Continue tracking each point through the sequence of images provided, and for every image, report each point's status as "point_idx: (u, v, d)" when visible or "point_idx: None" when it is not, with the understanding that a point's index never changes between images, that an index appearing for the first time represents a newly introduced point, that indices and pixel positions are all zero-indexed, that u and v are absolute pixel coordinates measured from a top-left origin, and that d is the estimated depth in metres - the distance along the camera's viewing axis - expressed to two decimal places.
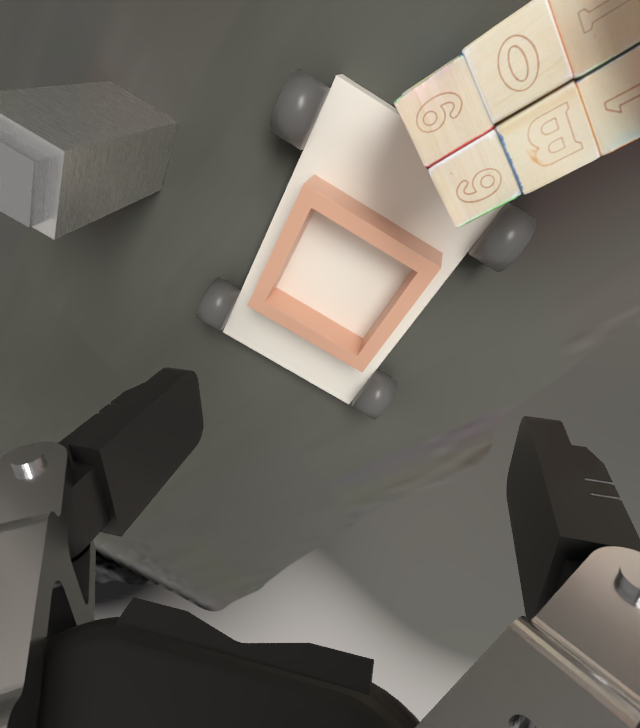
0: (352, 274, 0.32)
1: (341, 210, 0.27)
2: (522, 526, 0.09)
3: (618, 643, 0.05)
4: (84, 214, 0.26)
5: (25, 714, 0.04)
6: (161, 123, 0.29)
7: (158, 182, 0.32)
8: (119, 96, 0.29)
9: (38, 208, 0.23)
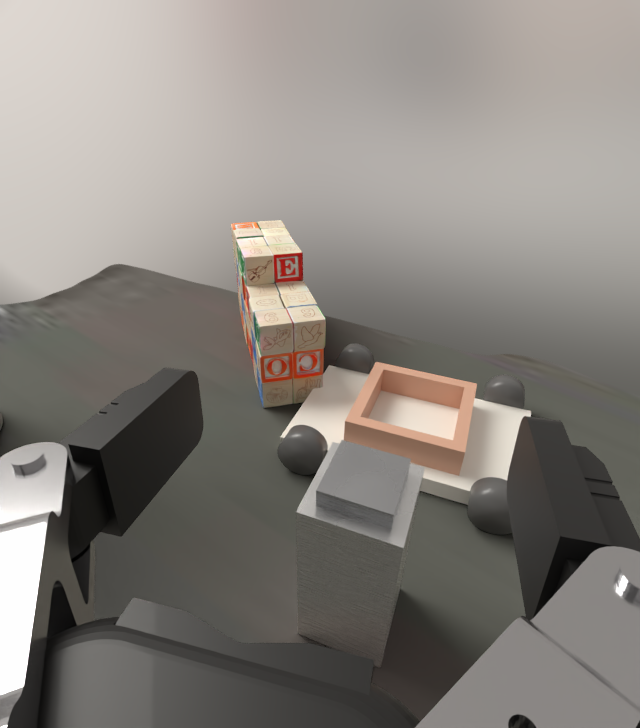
0: (409, 419, 0.41)
1: (356, 402, 0.39)
2: (522, 526, 0.09)
3: (619, 643, 0.05)
4: None
5: (25, 714, 0.04)
6: None
7: None
8: None
9: None
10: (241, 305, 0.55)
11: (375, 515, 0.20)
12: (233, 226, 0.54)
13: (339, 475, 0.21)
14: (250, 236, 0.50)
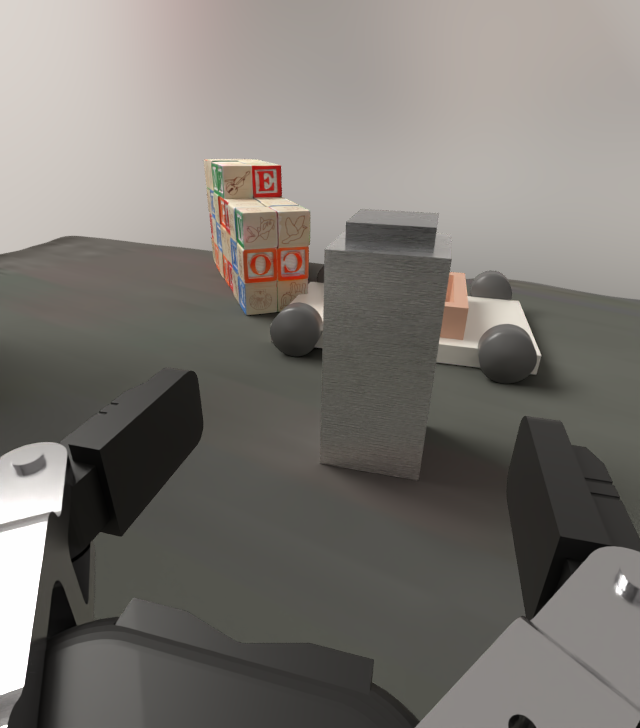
0: None
1: None
2: (522, 526, 0.09)
3: (618, 643, 0.05)
4: None
5: (25, 714, 0.04)
6: None
7: None
8: None
9: None
10: (216, 239, 0.53)
11: (415, 236, 0.18)
12: (206, 160, 0.53)
13: (368, 217, 0.19)
14: (225, 160, 0.49)
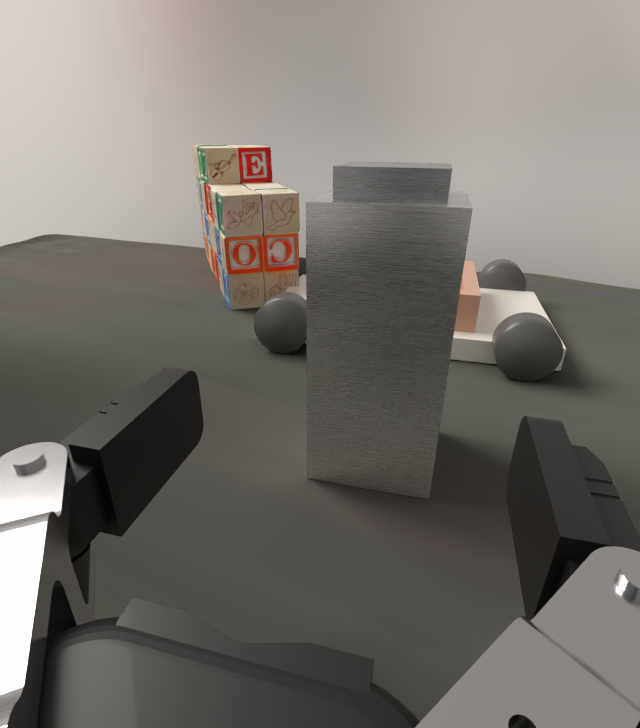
0: None
1: None
2: (522, 526, 0.09)
3: (619, 643, 0.05)
4: None
5: (25, 714, 0.04)
6: None
7: None
8: None
9: None
10: (205, 231, 0.49)
11: (423, 182, 0.14)
12: (194, 146, 0.50)
13: (361, 164, 0.15)
14: (212, 145, 0.46)
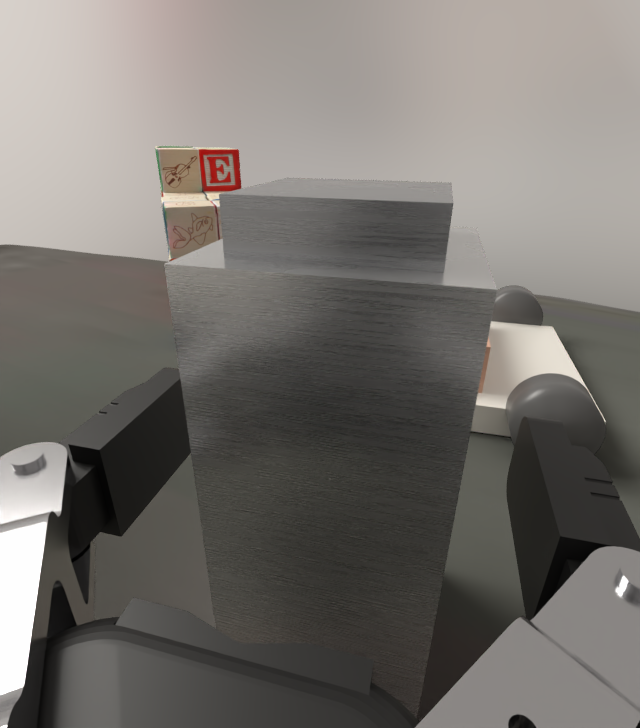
0: None
1: None
2: (522, 526, 0.09)
3: (618, 643, 0.05)
4: None
5: (25, 714, 0.04)
6: None
7: None
8: None
9: None
10: None
11: (395, 229, 0.07)
12: None
13: (285, 187, 0.08)
14: (175, 146, 0.39)
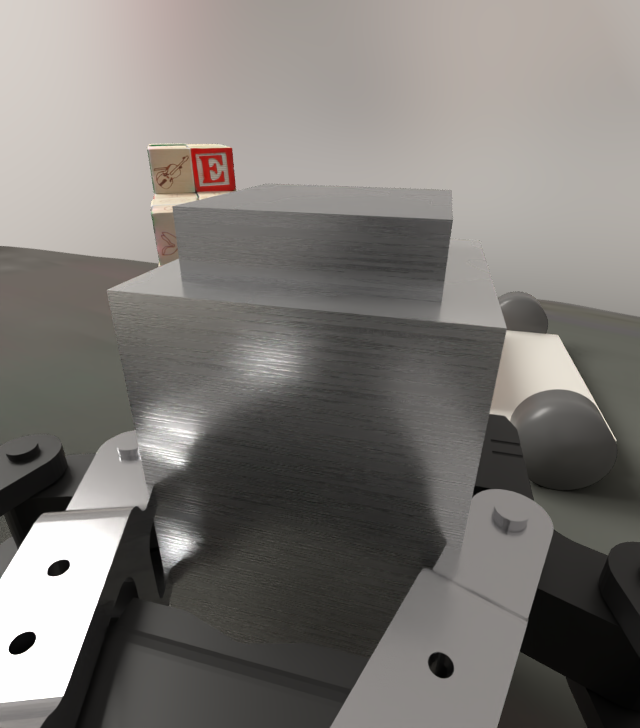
0: None
1: None
2: None
3: (501, 569, 0.06)
4: None
5: None
6: None
7: None
8: None
9: None
10: None
11: (382, 250, 0.06)
12: None
13: (256, 197, 0.07)
14: (168, 144, 0.38)
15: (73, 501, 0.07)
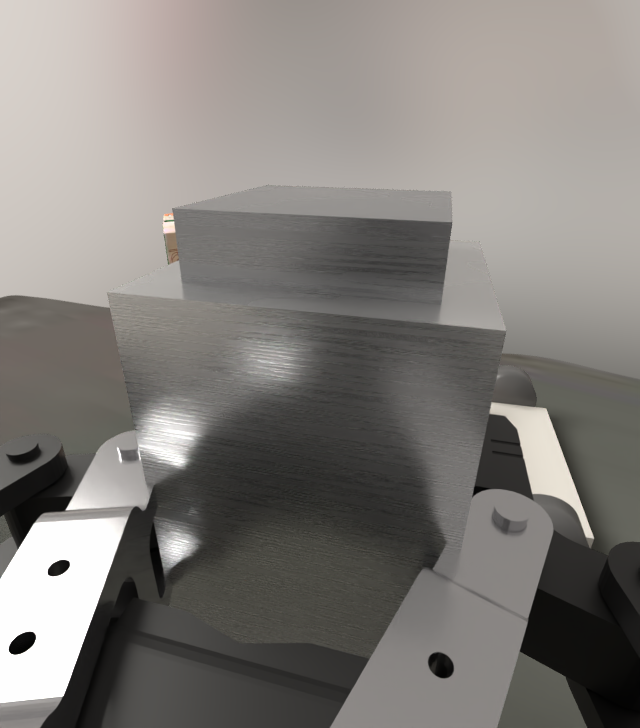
0: None
1: None
2: None
3: (502, 569, 0.06)
4: None
5: None
6: None
7: None
8: None
9: None
10: None
11: (382, 252, 0.06)
12: (166, 215, 0.44)
13: (256, 199, 0.07)
14: None
15: (73, 501, 0.07)
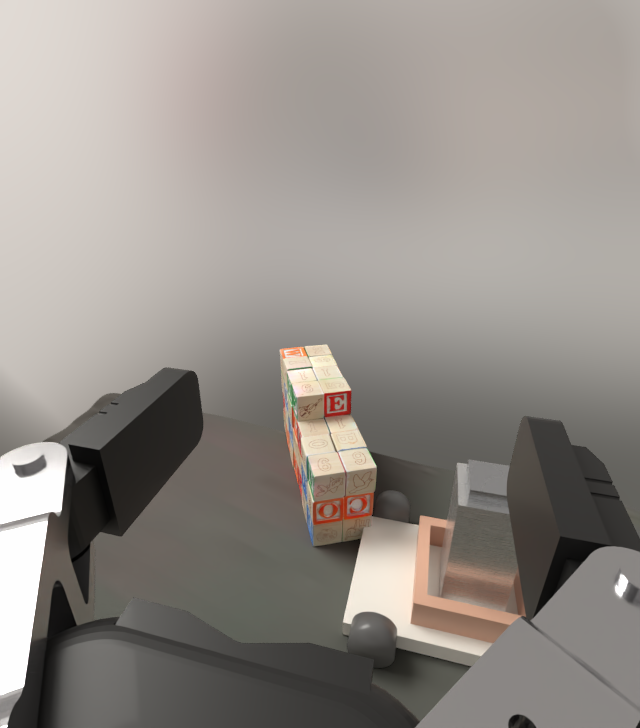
0: None
1: (417, 574, 0.38)
2: (522, 526, 0.09)
3: (618, 642, 0.05)
4: None
5: (25, 714, 0.04)
6: (442, 546, 0.41)
7: None
8: (442, 575, 0.39)
9: None
10: (288, 427, 0.57)
11: None
12: (282, 353, 0.57)
13: (479, 480, 0.34)
14: (300, 367, 0.53)
15: None
